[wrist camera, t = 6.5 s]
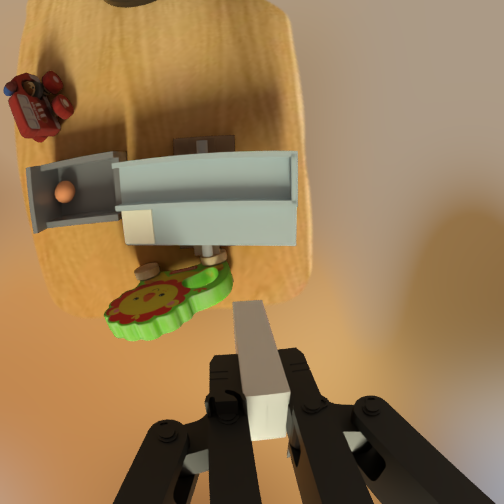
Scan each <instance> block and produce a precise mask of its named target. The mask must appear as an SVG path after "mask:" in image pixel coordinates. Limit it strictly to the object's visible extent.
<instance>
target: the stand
mask: <svg viewBox="0 0 504 504" xmlns="http://www.w3.org/2000/svg"><path fill="white" fill-rule="evenodd" d="M199 140H207V144H208V153H219V152H235V138H234V135H226V136H205V137H191V138H178V139H173V145H174V156H177V155H189V154H197V146H196V141H199ZM220 246H236V245H212V248H213V254H220ZM183 248H194V252H195V255H203V254H202V245H180V249H183Z"/></svg>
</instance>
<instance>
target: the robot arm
mask: <svg viewBox="0 0 504 504" xmlns="http://www.w3.org/2000/svg"><path fill="white" fill-rule="evenodd" d="M104 1H105V2H107V3H108V4H110V5H113V6H116V7H135V6H141V5H145V4H148V3H151V2H154V1H156V0H104ZM233 318H234V334H235V347H236V354H229V355H215V356H214V357H213V359H212V360H211V362H210V393H209V394H208V395H207V396H206V399H205V407H206V412H207V414H206V415H205V416H204V417H203V418H201V419H200V420H198V421H195V422H192V423H189V424H185V425H183V424H181V423H180V422H178V421H175V420H162V421H158V422H157V423H155V424H153V425H152V426H151V428H150V429H149V430H148V433H147V434H146V437H145V439H144V441H143V443H142V445H141V447H140V449H139V451H138V453H137V455H136V457H135V459H134V461H133V463H132V465H131V467H130V469H129V471H128V473H127V475H126V477H125V479H124V481H123V483H122V485H121V488H120V490H119V492H118V494H117V496H116V498H115V500H114V502H113V504H190V502H191V499H192V496H193V493H194V489H195V486H196V483H197V480H198V476H199V473H202V472H205V471H208V470H209V489H210V504H262V502H261V497H260V492H259V485H258V479H257V472H256V467H255V460H254V454H253V447H252V441H257V440H265V439H274V438H282V437H286V431H287V434H288V438H289V443H288V451H287V458H288V457H290V456H291V460H292V464H293V468H294V472H295V476H296V479H297V483H298V487H299V491H300V495H301V499H302V503H303V504H374V503H373V500H372V498H371V496H370V493H369V491H368V489H367V487H368V488H369V489H370V490H371V491H372V493H373V494H374V495H375V496H376V497H377V499H378V500H379V501H380V502H381V503H382V504H495V503H494V502H493V501H492V500H491V499H490V498H489V497H488V496H486V495H485V494H484V493H483V492H482V491H481V490H480V489H479V488H478V487H477V486H476V485H474V484H473V483H472V482H471V481H470V480H469V479H468V478H467V477H466V476H465V475H464V474H462V473H461V472H460V471H459V470H458V469H457V468H456V467H455V466H454V465H453V464H452V463H451V462H449V461H448V460H447V459H446V458H445V457H444V456H443V455H442V454H441V453H440V452H439V451H438V450H436V448H435V447H433V446H432V445H431V444H430V443H429V442H428V441H427V440H426V439H425V438H424V437H423V436H422V435H421V434H420V433H418V432H417V431H416V430H415V429H414V428H413V427H412V426H411V425H410V424H409V423H408V422H407V421H406V420H405V419H404V418H403V417H402V416H401V415H399V413H397V412H396V411H395V410H394V409H393V408H392V407H391V406H390V405H389V404H388V403H387V402H386V401H385V400H383V399H382V398H380V397H377V396H365V397H361V398H360V399H358V400H357V401H356V403H355V404H354V405H341V404H334V403H331V402H329V400H327V398H325V397H324V396H322V395H321V394H320V392H319V389H318V387H317V385H316V382H315V380H314V378H313V375H312V373H311V371H310V368H309V366H308V364H307V361H306V359H305V356H304V354H303V353H302V352H301V351H299V350H298V349H297V348H288V349H279V350H277V347H276V344H275V340H274V337H273V334H272V331H271V328H270V324H269V322H268V318H267V315H266V311H265V308H264V305H263V302H262V300H254V301H239V302H233ZM366 485H367V487H366Z"/></svg>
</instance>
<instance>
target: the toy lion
mask: <svg viewBox="0 0 504 504" xmlns="http://www.w3.org/2000/svg"><path fill="white" fill-rule="evenodd" d="M226 259H227V253H226V250H225V249H222V248H220V254H213V255H212V256H210V257H204V256H203V255H200V260H201V264H198V265H195V266H192V267H188V268H184V269H180V270H174V271H166V272H160V268H159V266H158V263H148V264H145V265H142V266H140V267H138V268H137V269H136V270H135V271H134V273H135V276H136V278H137V280H140V283H139V285H138V286H137V287H136V288H135V289H132V290H129V291H126V292H125V293H123V294H122V295H121V296H120V297H119V298H117V299H115V300H113V301H112V302H111V303H110V305H109V308H108V309H107V310H106V312H105V313H104V317H105V319H106V321H107V323H108V326H109V328H110V330H111V331H112V332H113V334H114V336H115V337H117V338H125V339H126V340H128V341H137V340H140V339H143V340H147V341H148V340H154V339H156V338H159V337H160V336H161V335H163V334H165V333H170V332H173V331H175V330H176V329H178V328H179V327H181V325H182V324H183V323H184V322H187V321H188V320H190V319H191V318H192V317H193V315H194V314H195V313H196V312H198V311H201V310H204V309H207V308H209V307H211V306H213V305H216V304H217V303H219V302H221V301H222V300H223V299H225V298H226V297H227V296H228V295H229V293H230V292H231V290H232V286H233V282H234V280H233V276H232V274H231V271H230V267H229V264H228V263H227V261H226Z"/></svg>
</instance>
